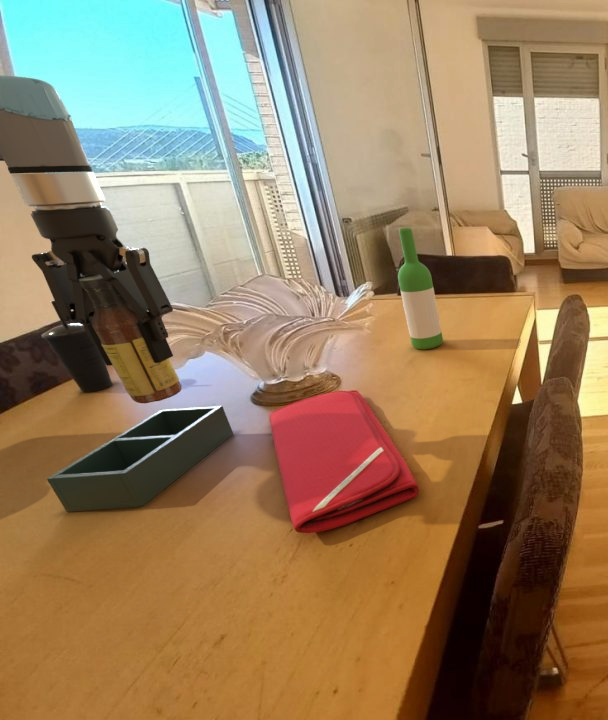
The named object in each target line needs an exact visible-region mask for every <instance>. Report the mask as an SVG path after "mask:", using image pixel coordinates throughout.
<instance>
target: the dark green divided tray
mask: <svg viewBox="0 0 608 720" xmlns="http://www.w3.org/2000/svg"><path fill="white" fill-rule="evenodd" d="M233 435H234V431H233V429H232V427H231V425H230V421H229V419H228V416H227V414H226V412H225V409H224V406H223V405H216V406H198V407H197V406H196V407H182V408H166V409H160V410H158V411H157V412H155V413H153V414H152V415H150V416H148V417H147V418H145V419H143V420H142V421H140V422H139V423H137V424H135V425H134V426H132V427H130V428H129V429H126V430H125V431H123V432H122V433H120V434H118V435H117V436H115V437H113V438H111V439H110V440H108V441H107V442H105V443H103V444H102V445H100V446H99V447H97V448H95V449H93V450H92V451H90V452H88V453H87V454H85V455H83V456H82V457H80V458H78V459H76V460H75V461H73V462H71V463H70V464H69V465H67V466H65V467H64V468H62V469H60V470H58V471H56V472H55V473H53V474H52V475H50V476H48V477H47V478H46V480H47V482H48V484H49V485H50V487H51V489H52V491H53V492H54V493H55V496H56V497H57V498H58V500H59V502H60V503H61V505H62V506H63V508H64V510H65V511H66V513H70V512H71V513H72V512H85V511H96V510H97V511H98V510H99V511H100V510H112V509H113V510H114V509H126V508H127V509H128V508H139V507H141V508H142V507H144V506H145V505H147V504H148V503H149V502H151V500H153V499H154V498H155V497H157V496H158V495H159V494H160V493H162V492H163V491H164V490H165V489H167V488H168V487H169V486H171V485H172V484H173V483H174V482H175V481H177V480H178V479H179V478H181V476H183V475H184V474H185V473H187V472H188V471H189V470H191V469H192V468H193V467H194V466H195V465H197V464H198V463H199V462H200V461H202V460H203V459H204V458H206V457H207V456H208V455H209V454H210V453H212V452H213V451H214V450H215V449H217V448H218V447H219V446H220V445H222V444H223V443H224V442H225V441H227V440H228V439H230V437H232V436H233Z"/></svg>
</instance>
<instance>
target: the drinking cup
mask: <svg viewBox="0 0 608 720" xmlns="http://www.w3.org/2000/svg"><path fill="white" fill-rule="evenodd" d="M50 303H51V305H52V306H53V308H54V310H55V313H56V315H57V317H58V319H59V320H60V322H61V324H60V325H56V326H54V327H52V328H50V329H49V330H47V331H45V332H43V333H42V334H41V338H42V339H45V340H46V342H47V343H48V345H49V346H50V347H51V349H52V351H53V352H54V354H55V355H56V356H57V358H58V359H59V361H60V362H61V363H62V365H63V366H64V368H65V369H66V371H67V372H68V373H69V375H70V376H71V379H73V382H75V384H76V385H77V386H78V388H79V389H80V391H81V392H83V393H93V392H98V391H101V390H102V391H103V390H105V389H108V388H110V387H112V386H113V381H112V378H111V376H110V373H109V370H108V366H107V365H106V363H105V361H104V359H103V357H102V355H101V353H100V351H99V349H98V347H97V345H96V344H93V343H92V342H91V341H90V339H89V337H88V335H87V333H86V331H85V329H84V327H83V325H81V324H79V323H78V322H75V323H73V322H72V323H68V321H65V320H63V319H62V317H61V314H60V312H59V310H58V307H57V305H56V303H55V300H51V301H50Z"/></svg>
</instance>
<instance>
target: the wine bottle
mask: <svg viewBox="0 0 608 720" xmlns="http://www.w3.org/2000/svg"><path fill="white" fill-rule="evenodd" d="M398 233H399V239H400V244H401V249H402V254H403V259H404V264H402V265H401V267H400V268H399V270H398V273H397V280H398V285H399V290H400V295H401V301H402V305H403V310H404V315H405V319H406V323H407V329H408V333H409V337H410V342H411V345H412V347H413V348H414V349H416V350H422V351H423V350H431V349H435V348H437V347H440V346H441V345H442V344H443V342H444V341H443V340H444V339H443V331H442V326H441V320H440V315H439V310H438V305H437V299H436V294H435V288H434V284H433V279H432V274H431V271H430V270H429V268H428V267H427V266H426V265H425V264H424V263H422V262H420V261H419V258H418V253H417V247H416V244H415V243H416V242H415V238H414V233H413V229H412V228H410V227H406V228H405V227H404V228H403V227H402V228H399V229H398Z"/></svg>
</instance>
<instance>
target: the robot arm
mask: <svg viewBox="0 0 608 720" xmlns="http://www.w3.org/2000/svg"><path fill="white" fill-rule="evenodd" d="M77 133H78V132H77V130H76V128H75V125H74V122H73V119H72V115H71V114H70V113H69V112H68V110H67V107H66V106H65V104H64V102H63V100H62V98H61V97H60V94H59V93H58V91H57V89H56V88H55V87H54V86H53V85H52V84H50V83H49V82H47V81H45V80H42V79H37V78H32V77H26V76H17V75H15V76H14V75H1V74H0V162H4V163H5V165H6V166H7V168H6V169H7V170H8V172H9V174H10V175H11V177H12V180H13V181H14V184H15V186H16V188H17V190H18V193H19V194H20V196H21V199H22V201H23V203H24V205H26V206H28V207H33V208H34V210H31V213H30V216H31V218H32V221H33V222H34V224H35V226H36V228H37V231H38V232H39V235H40V236H41V237H43V238H44V239H46V240H49V241H50V245H51V246H50V250H49V251H46V252H39V253H35V254H32V255H31V259H32V261H33V262H34V263H35V264H36V266H37V267H38V268H39V269H40V270H41V273H42V274H43V277H44V279H45V281H46V284H47V286H48V288H49V291H50V293H51V296H52V298H53V301H55V303H56V305H57V307H58V310H59V312H60V314H61V317H62V319H63V320H65V321H66V322H75V323H79V324H81V325H83V327H84V329H85V331H86V333H87V335H88V337H89V339H90V341H91V342H92V343H93V344H96V345H97V347H98V349H99V351H100V353H101V355H102V357H103V359H104V361H105V364H106V367H108V366H109V367H110V366H113V365H112V363H111V361H110V359H109V357H108V355H107V354H106V352H105V350H104V348H103V346H102V345H101V341H100V339H99V337H98V335H97V334H96V332H95V330H94V328H93V327H92V319H93V315H94V312H95V308H94V307H93V303H92V301H91V300H90V298H89V296H88V294H87V292H86V291H85V290H84V289H83V288H82V287H81V284H80V282H79V279H81V278H85V277H89V276H93V275H101V276H102V277H103V278H104V279H105V280H106V281H109V282H111V283H112V285H113V286H114V287H115V288H116V289H117V291H118V292H119V293H120V294H121V296H122V297H123V298H124V299H125V300H126V302H127V303H128V304H129V305H130V306H131V308H132V309H133V310H134V311H135V312H136V314H137V315H138V316H139V317H140V318H141V320H138V323H137V325H138V327H139V330H140V332H141V334H142V336H143V338H144V341H145V343H146V345H147V347H148V349H149V352H150V354H151V356H152V358H153V360H154V363H160V362H162V361H164V360H166V359H168V358H169V359H170V358H173V357H174V354H173V352H172V350H171V347H170V344H169V342H168V341H167V339H168V338H169V333H168V330H167V328H166V326H165V324H164V320H163V316H165V315H167V314H170V313H172V312H174V309H173V306H172V304H171V302H170V300H169V298H168V295H167V294H166V292H165V290H164V288H163V286H162V284H161V282H160V280H159V278H158V276H157V274H156V272H155V270H154V268H153V266H152V264H151V258H150V252H149V250H148V249H147V248H146V247H138V248H134V247H128V246H126V245H125V244H124V243H123V242H122V241H121V240H120V239H119V238H118V236H117V233H118V231H119V227H118V225H117V223H116V221H115V218H114V216H113V214H112V211H111V210H110V209H111V208H108V207H107V206H106V205H105V206H104V205H103V206H102V203H104V202H105V201H106V198H105V196H104V194H103V191H102V190H101V187H100V185H99V182H98V180H97V178H96V175H95V173H94V171H93V168H92V166H91V164H90V161H89V158H88V157H87V155H86V152H85V150H84V148H83V145H82V143H81V140H80V138H79V135H78V134H77Z"/></svg>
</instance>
